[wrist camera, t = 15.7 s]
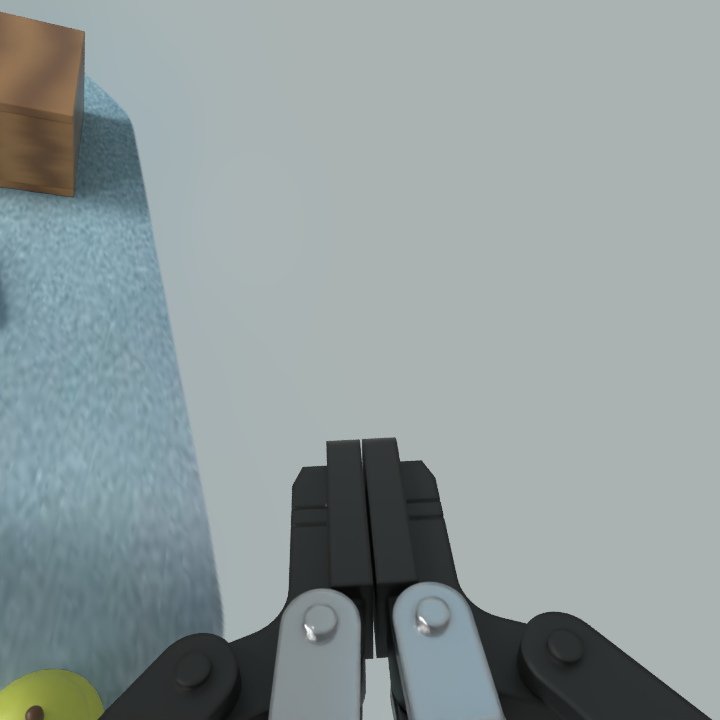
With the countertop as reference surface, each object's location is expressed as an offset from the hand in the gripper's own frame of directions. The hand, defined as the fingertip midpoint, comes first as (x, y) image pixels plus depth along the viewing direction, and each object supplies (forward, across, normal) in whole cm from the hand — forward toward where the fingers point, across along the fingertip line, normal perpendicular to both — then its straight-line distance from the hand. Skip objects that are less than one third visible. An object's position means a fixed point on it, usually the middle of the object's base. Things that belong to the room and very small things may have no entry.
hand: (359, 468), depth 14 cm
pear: (+7, +17, +26) cm, 32 cm away
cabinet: (+52, +31, +6) cm, 61 cm away
